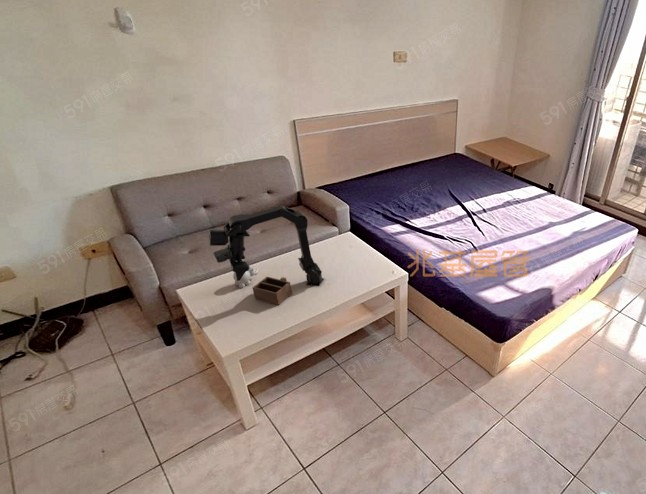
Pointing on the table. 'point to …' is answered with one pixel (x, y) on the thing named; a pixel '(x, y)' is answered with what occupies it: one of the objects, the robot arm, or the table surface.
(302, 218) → the robot arm
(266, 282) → the shelf
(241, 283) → the toy rhinoceros
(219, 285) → the table surface
